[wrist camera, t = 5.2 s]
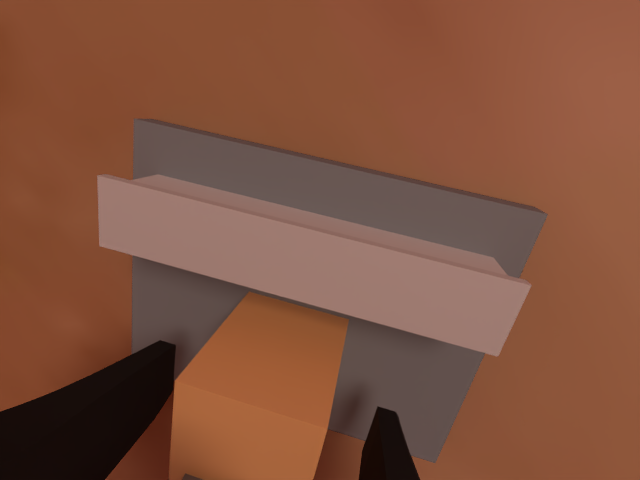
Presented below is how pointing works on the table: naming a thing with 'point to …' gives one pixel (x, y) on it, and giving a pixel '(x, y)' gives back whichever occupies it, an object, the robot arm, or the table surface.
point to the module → (258, 395)
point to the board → (322, 265)
